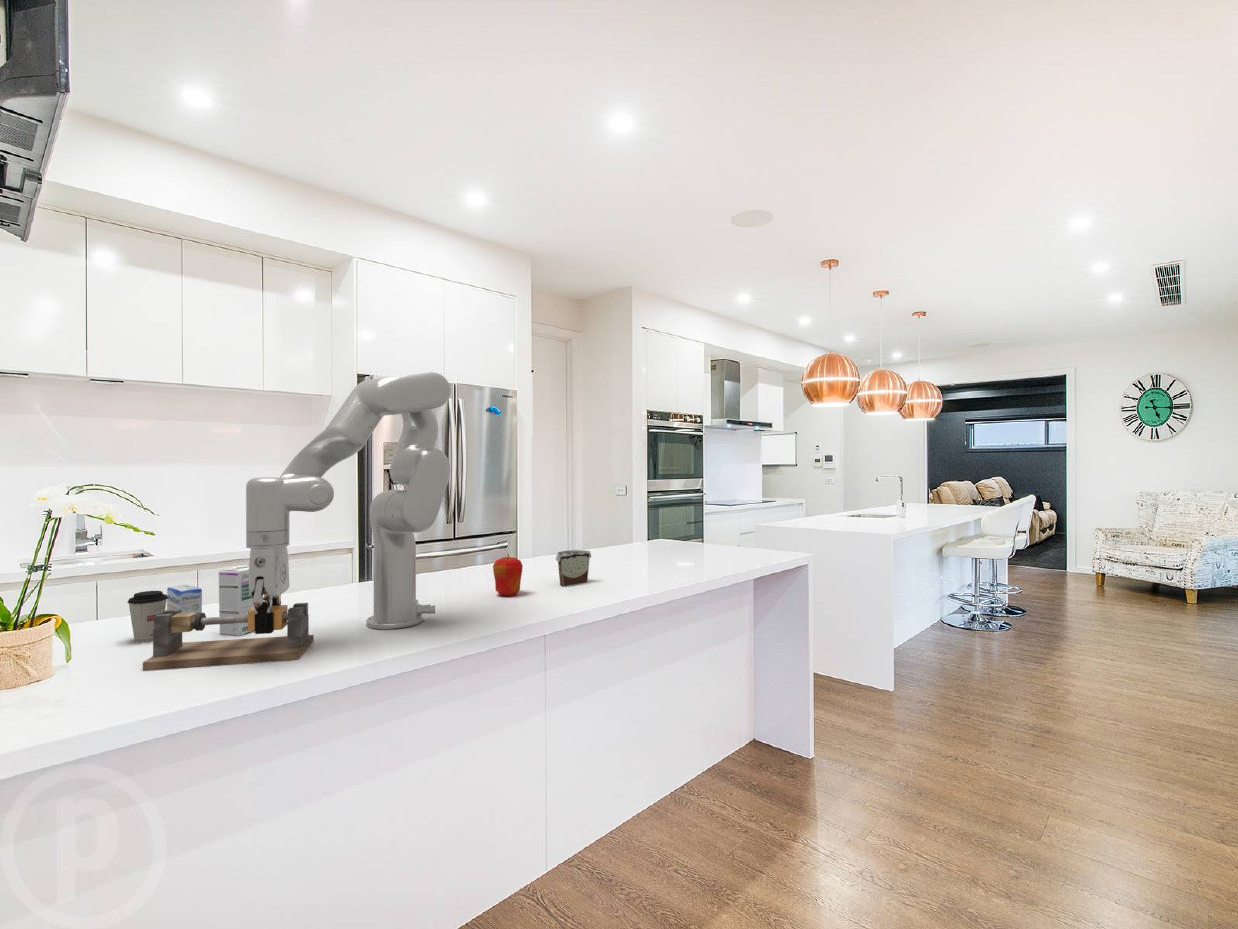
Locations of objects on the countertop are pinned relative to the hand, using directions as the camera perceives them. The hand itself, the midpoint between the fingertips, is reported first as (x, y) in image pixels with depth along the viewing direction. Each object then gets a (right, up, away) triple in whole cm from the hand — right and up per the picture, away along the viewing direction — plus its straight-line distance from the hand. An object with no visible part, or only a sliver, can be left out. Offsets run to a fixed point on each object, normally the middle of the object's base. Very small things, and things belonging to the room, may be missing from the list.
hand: (268, 629), depth 121 cm
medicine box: (-32, -5, +21) cm, 39 cm away
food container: (+55, -5, +69) cm, 89 cm away
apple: (+38, -5, +53) cm, 65 cm away
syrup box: (-15, -5, +15) cm, 22 cm away
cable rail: (-6, -5, -1) cm, 8 cm away
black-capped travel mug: (-31, -5, +9) cm, 33 cm away
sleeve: (0, 0, 0) cm, 0 cm away
